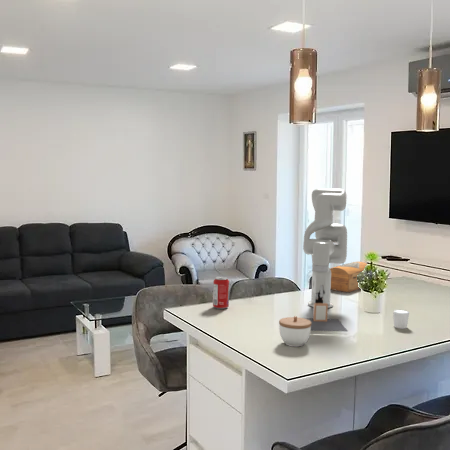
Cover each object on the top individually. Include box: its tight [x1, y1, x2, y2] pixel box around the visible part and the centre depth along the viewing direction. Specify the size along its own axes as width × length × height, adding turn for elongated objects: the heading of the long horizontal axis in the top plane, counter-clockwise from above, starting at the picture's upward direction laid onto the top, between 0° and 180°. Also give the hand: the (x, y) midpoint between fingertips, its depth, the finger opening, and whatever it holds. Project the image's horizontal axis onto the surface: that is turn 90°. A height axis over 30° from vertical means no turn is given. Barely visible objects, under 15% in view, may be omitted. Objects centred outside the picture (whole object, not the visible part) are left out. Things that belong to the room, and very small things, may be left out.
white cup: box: [392, 309, 410, 329], centre depth 248 cm, size 7×7×7 cm
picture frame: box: [312, 303, 329, 322], centre depth 252 cm, size 2×6×8 cm, turn 91°
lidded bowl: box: [278, 315, 311, 348], centre depth 219 cm, size 13×13×11 cm
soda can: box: [212, 276, 230, 310], centre depth 274 cm, size 8×8×15 cm
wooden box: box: [329, 261, 368, 293], centre depth 333 cm, size 30×16×14 cm, turn 140°
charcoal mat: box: [303, 317, 348, 332], centre depth 247 cm, size 20×18×1 cm
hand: (318, 308), depth 256 cm, fingers closed
